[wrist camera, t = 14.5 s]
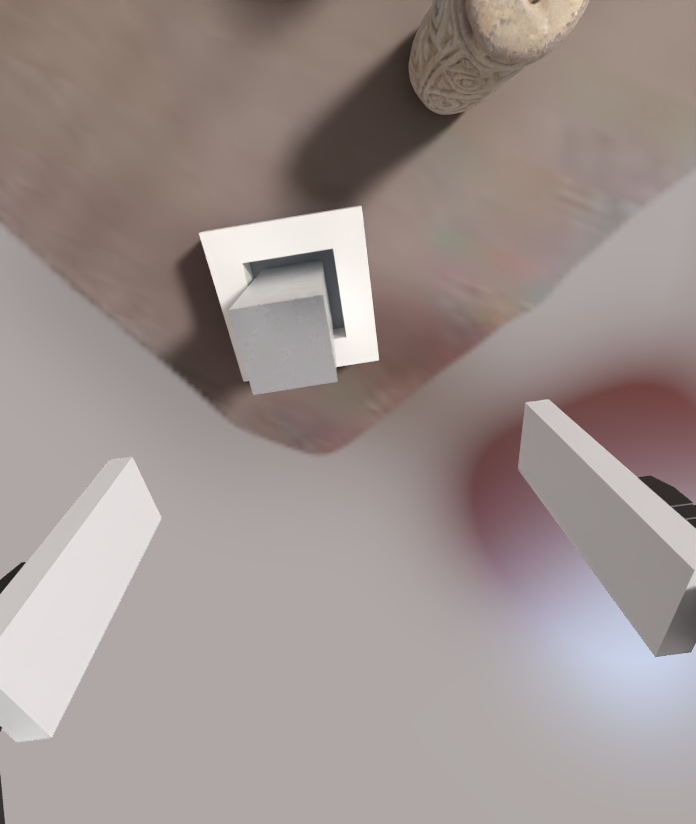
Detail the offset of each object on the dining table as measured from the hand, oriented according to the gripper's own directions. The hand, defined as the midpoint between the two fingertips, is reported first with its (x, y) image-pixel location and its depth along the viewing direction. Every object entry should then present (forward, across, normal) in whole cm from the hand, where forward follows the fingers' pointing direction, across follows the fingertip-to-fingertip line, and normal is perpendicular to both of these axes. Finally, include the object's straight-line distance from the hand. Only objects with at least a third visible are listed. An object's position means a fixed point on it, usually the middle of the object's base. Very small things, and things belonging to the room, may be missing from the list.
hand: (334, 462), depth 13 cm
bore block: (+25, -2, +1) cm, 25 cm away
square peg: (+24, -2, +1) cm, 24 cm away
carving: (+25, +12, +15) cm, 32 cm away
